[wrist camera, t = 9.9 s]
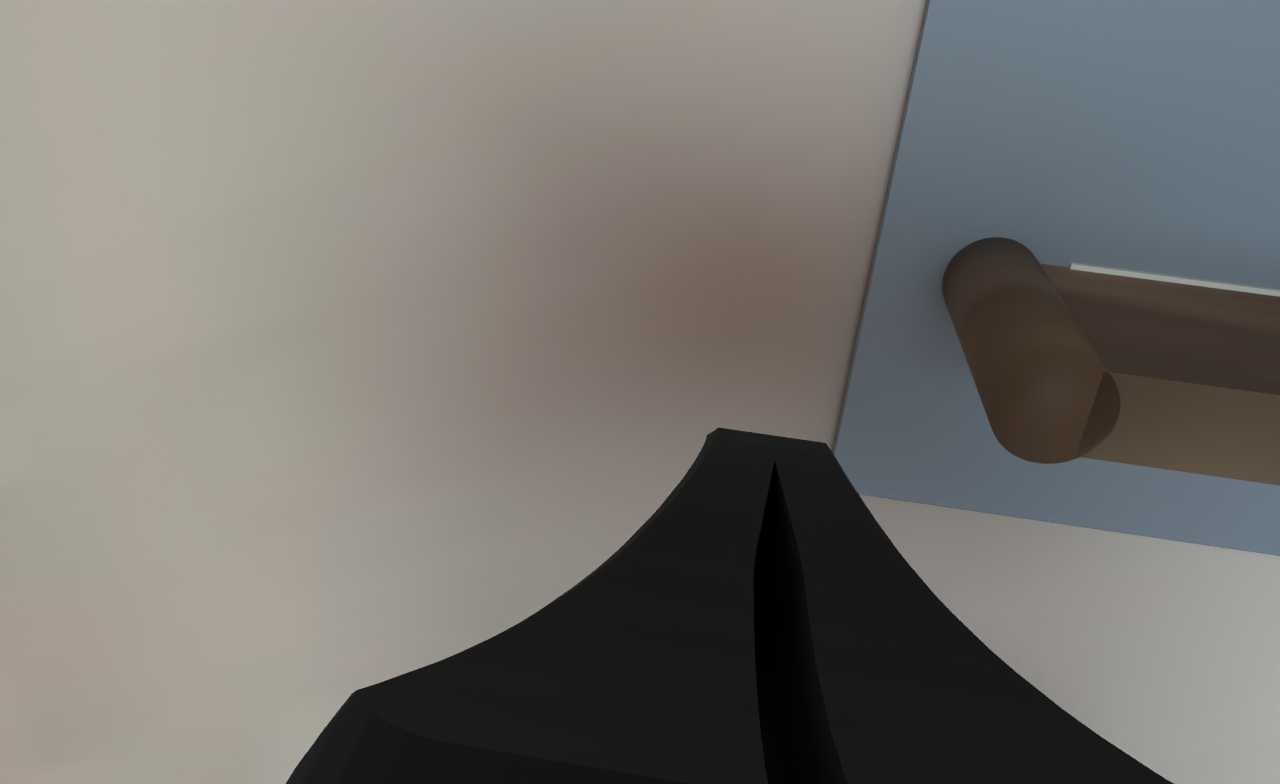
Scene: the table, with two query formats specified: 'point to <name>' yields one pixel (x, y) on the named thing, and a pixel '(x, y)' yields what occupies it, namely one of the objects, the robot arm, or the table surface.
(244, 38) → the table surface
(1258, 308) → the dark brown wooden bar
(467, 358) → the table surface
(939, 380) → the board
